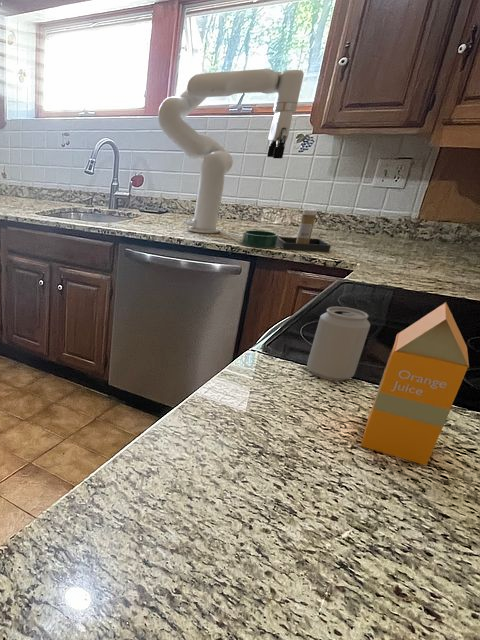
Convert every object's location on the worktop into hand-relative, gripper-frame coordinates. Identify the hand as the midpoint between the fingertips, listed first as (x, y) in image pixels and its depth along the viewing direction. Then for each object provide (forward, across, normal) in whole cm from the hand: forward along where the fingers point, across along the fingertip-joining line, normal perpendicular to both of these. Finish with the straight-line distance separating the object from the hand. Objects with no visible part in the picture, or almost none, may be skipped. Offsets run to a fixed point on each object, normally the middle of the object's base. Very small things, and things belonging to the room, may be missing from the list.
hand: (274, 157), depth 201 cm
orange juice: (+31, +159, -12) cm, 162 cm away
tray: (+30, +17, +12) cm, 37 cm away
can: (+31, +136, -14) cm, 140 cm away
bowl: (+30, +17, -3) cm, 35 cm away
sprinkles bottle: (+30, +17, +12) cm, 37 cm away
